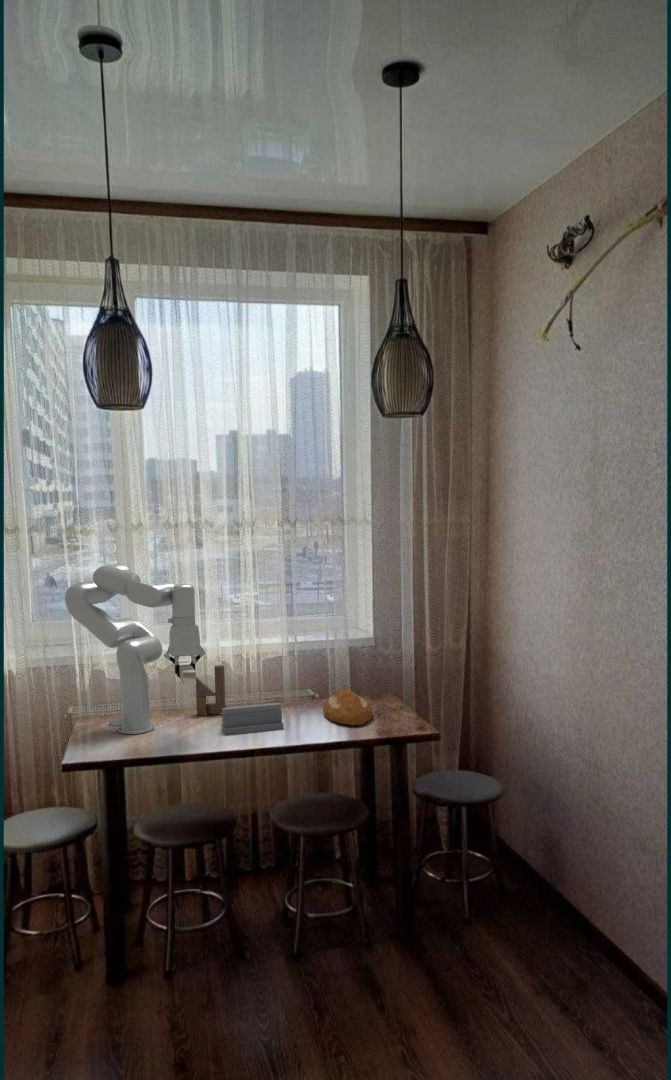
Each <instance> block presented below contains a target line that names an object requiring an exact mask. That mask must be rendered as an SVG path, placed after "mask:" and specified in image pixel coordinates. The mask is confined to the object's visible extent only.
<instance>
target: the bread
mask: <svg viewBox="0 0 671 1080" xmlns="http://www.w3.org/2000/svg"><path fill="white" fill-rule="evenodd" d="M322 713H323V715H324V717H325V718H327V719H329V720H331V721H333V722H335V723H339V724H340V725H341V724H342V725H349V726H354V727H357V726H360V725H364V724H365V723H367V722H369V721H370V720H371V719H372V717H373V708H372V706H371V704H370V702H369V701H368V700H366V699H364V698H363V697H361V696H359V695H358V694H357V693H355V692H354V691H352V690H349V689H340V690H337V691H336V692H335V693H334V694H331V695H330V696H329V697H328V698H327V699H326V701H325V702H324V703H323V707H322Z"/></svg>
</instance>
